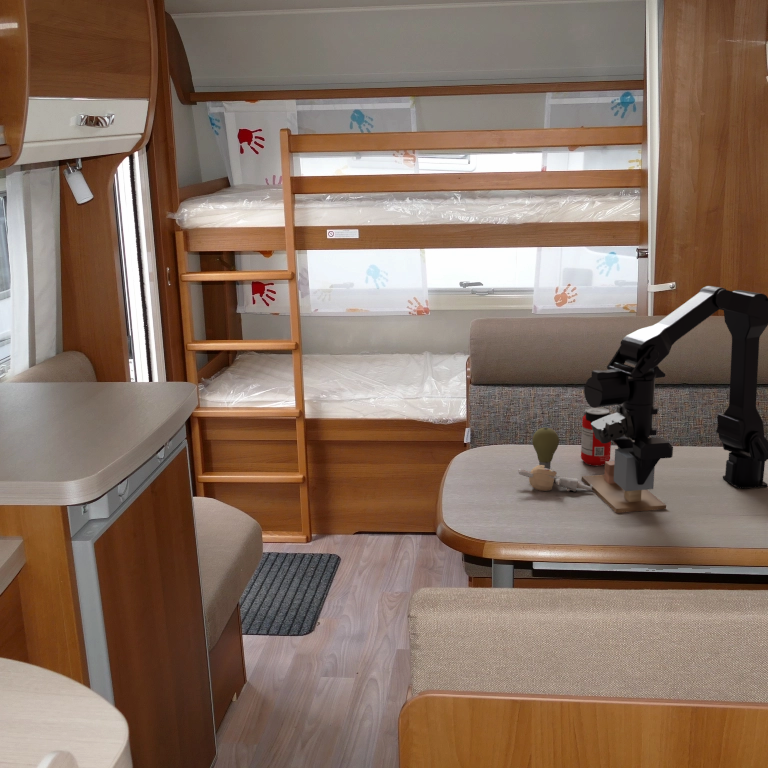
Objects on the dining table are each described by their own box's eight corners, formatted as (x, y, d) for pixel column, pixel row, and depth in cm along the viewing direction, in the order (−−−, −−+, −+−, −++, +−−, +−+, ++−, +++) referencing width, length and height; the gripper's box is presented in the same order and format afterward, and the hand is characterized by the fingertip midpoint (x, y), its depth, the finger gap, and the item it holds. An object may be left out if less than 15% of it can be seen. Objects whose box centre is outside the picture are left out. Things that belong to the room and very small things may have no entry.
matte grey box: (640, 478, 167) (642, 447, 165) (653, 489, 162) (655, 456, 160) (613, 480, 166) (615, 449, 165) (625, 491, 161) (627, 458, 159)
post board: (626, 476, 179) (628, 441, 177) (665, 509, 162) (668, 470, 160) (581, 479, 178) (582, 444, 176) (616, 512, 160) (618, 474, 158)
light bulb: (557, 477, 179) (559, 432, 177) (531, 476, 180) (532, 431, 178) (557, 468, 185) (559, 424, 182) (532, 467, 186) (533, 423, 183)
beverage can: (613, 466, 185) (615, 414, 182) (584, 467, 185) (586, 414, 182) (606, 457, 191) (608, 406, 188) (578, 457, 191) (580, 406, 188)
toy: (597, 479, 166) (521, 461, 168) (591, 505, 166) (515, 487, 168) (591, 474, 176) (520, 458, 178) (585, 499, 176) (514, 482, 178)
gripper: (579, 391, 168) (576, 465, 171) (617, 417, 150) (613, 500, 154) (632, 388, 169) (628, 462, 173) (676, 413, 151) (671, 495, 155)
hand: (633, 479), depth 164 cm, fingers closed on matte grey box, 6 cm apart
